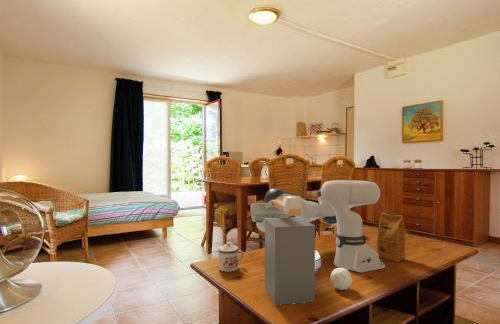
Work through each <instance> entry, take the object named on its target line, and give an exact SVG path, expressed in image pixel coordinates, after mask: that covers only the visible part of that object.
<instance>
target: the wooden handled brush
mask: <svg viewBox="0 0 500 324" xmlns="http://www.w3.org/2000/svg"><path fill="white" fill-rule="evenodd" d="M301 198H302V197H301V196H299V195H298V196H285V197H284V199H283V201H282V200H271V201H273V203H274V205H273V206H274V207H276V208H278V209H279V210H281V211H283V212H284V213H285V214H288V215H289V216H292V215H301V212H302V199H303V198H302V199H301Z"/></svg>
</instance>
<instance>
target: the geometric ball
mask: <svg viewBox="0 0 500 324" xmlns="http://www.w3.org/2000/svg"><path fill="white" fill-rule="evenodd" d="M351 274H352V273H350V270H347V269H344V268H339V267H337V268H334V269H333V270H332V272H331V274H330V277H329V278H330V283H331V284H332V286H333V287H334V288H335V289H337V290H339V291H344V290H345V291H346V290H348V289H349V288H350V287H351V285H352V283H353V278H352V275H351Z"/></svg>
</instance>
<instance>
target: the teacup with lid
mask: <svg viewBox="0 0 500 324" xmlns="http://www.w3.org/2000/svg"><path fill="white" fill-rule="evenodd" d="M217 252H218V270H219V271H220V270H221V271H220V272H223V271H225V272H224V273H231V272H232V271H233V272H235V270H236V271H237V270H238V268H239V262H241V261H242V260H243V258H244V254H245V253H244V251H242V249H239V247H238V246H236V245H234V244H233V243H232V242H230V241H226V243H225V244H224V245H222V246H219V247H218V250H217ZM239 253H241V256H240V258H239Z"/></svg>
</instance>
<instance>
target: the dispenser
mask: <svg viewBox="0 0 500 324" xmlns="http://www.w3.org/2000/svg"><path fill="white" fill-rule="evenodd" d="M315 238H316V225H315V224H313V223H312V222H310V221H309V222H308V221H306V220H304V219H302V218H300V217H296V216H295V217H292V218H265V232H264V289H265V288H266V289H265V291H266V290H267V291H266V292H267V295H268V296H269V298H270V297H271V298H270V299H272V300H271V302H272V301H273V302H272V304H273V305H274V304H275V305H279V306H281V305H280V304H290V305H294V304H293V303H300V304H305V303H304V302H311V303H315V301H316V300H315V298H316V295H315V294H316V291H315V289H316V288H315V287H316V279H315V278H316V275H315V274H316V239H315ZM275 305H274V306H275Z"/></svg>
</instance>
